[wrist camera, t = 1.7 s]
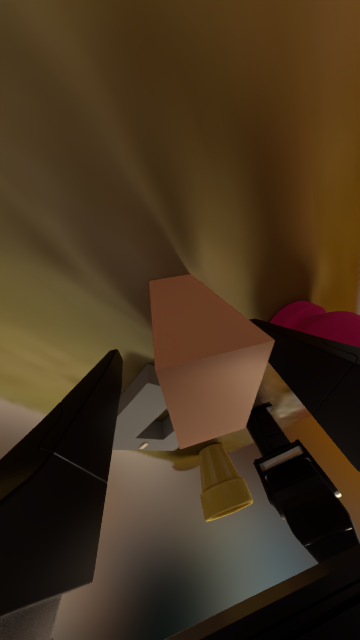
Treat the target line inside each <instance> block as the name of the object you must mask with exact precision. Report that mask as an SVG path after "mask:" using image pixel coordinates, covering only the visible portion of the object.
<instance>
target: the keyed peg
mask: <svg viewBox="0 0 360 640" xmlns="http://www.w3.org/2000/svg"><path fill="white" fill-rule="evenodd" d="M149 288H150V302H151V317H152V331H153V346H154V360H155V371H156V374H157V377H158V381H159V384H160V387H161V390H162V393H163V397H164V400H165V403H166V406H167V409H168V412H169V416H170V419H171V422H172V425H173V428H174V431H175V435H176V438H177V441H178V444H179V447H180V449H183V448H186V447H189V446H192V445H195V444H198V443H201V442H205V441H208V440H211V439H214V438H217V437H220V436H223V435H226V434H229V433H232V432H235V431H238V430H241V429H244V428H246V425H247V422H248V419H249V416H250V413H251V410H252V407H253V404H254V401H255V398H256V395H257V392H258V389H259V386H260V383H261V380H262V377H263V374H264V371H265V368H266V365H267V362H268V360H269V357H270V354H271V351H272V348H273V345H274V342H275V340H274V339H273V338H271V337H270V336H269V335H267V334H266V333H265V332H264V331H262V330H261V329H260V328H259V327H257V326H256V325H255V324H253V323H252V322H251V321H250V320H248V319H247V318H246V317H245V316H243V315H242V314H241V313H239V312H238V311H237V310H236V309H234V308H233V307H232V306H231V305H229V304H228V303H227V302H225V301H224V300H223V299H222V298H220V297H219V296H218V295H216V294H215V293H214V292H213V291H211V290H210V289H209V288H208V287H206V286H205V285H204V284H202V283H201V282H200V281H199V280H197V279H196V278H195V277H194V276H192V275H191V274H187V275H181V276H175V277H169V278H163V279H157V280H151V281H149Z"/></svg>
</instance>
